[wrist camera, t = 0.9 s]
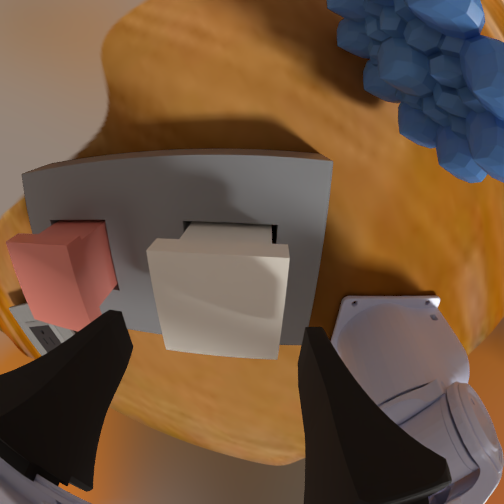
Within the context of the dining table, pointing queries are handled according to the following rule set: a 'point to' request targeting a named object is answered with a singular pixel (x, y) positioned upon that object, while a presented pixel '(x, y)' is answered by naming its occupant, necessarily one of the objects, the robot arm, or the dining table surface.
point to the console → (190, 213)
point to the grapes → (434, 76)
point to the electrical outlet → (40, 330)
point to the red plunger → (65, 271)
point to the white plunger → (221, 289)
